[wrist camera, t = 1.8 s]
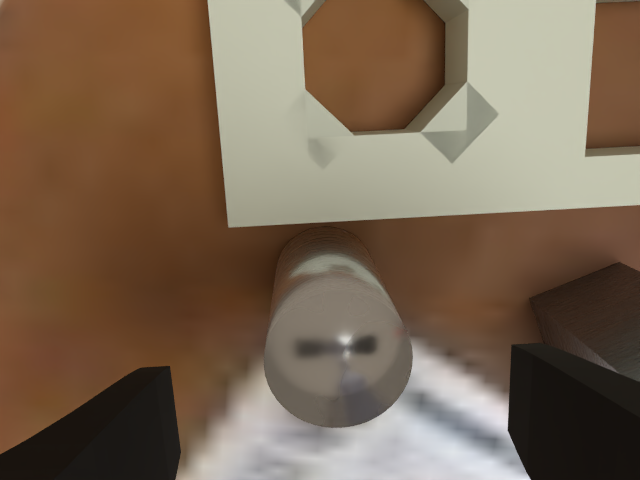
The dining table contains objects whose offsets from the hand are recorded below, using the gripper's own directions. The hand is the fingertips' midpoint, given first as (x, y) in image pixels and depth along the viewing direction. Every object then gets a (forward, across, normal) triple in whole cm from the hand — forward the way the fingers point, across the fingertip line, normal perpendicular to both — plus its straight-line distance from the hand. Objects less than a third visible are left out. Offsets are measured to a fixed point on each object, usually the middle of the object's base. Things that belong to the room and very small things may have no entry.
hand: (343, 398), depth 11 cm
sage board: (+9, -6, -7) cm, 13 cm away
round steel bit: (+9, 0, 0) cm, 9 cm away
